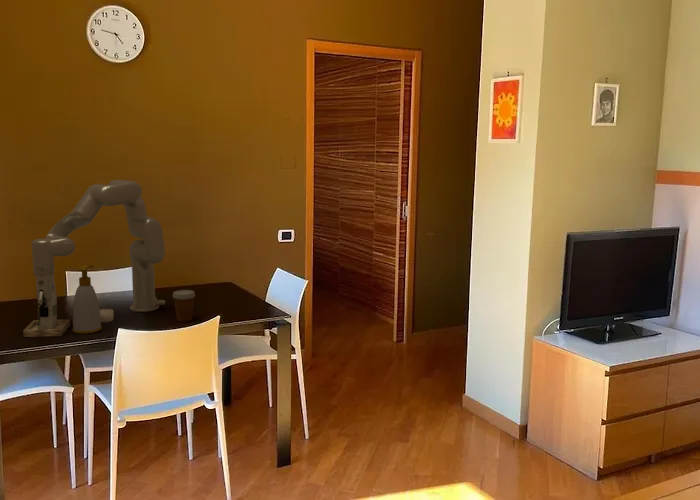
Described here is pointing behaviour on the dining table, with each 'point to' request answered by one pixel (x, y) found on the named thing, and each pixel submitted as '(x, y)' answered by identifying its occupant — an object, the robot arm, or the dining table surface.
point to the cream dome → (106, 315)
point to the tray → (57, 331)
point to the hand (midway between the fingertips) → (46, 313)
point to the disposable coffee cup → (184, 304)
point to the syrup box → (51, 320)
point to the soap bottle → (86, 306)
